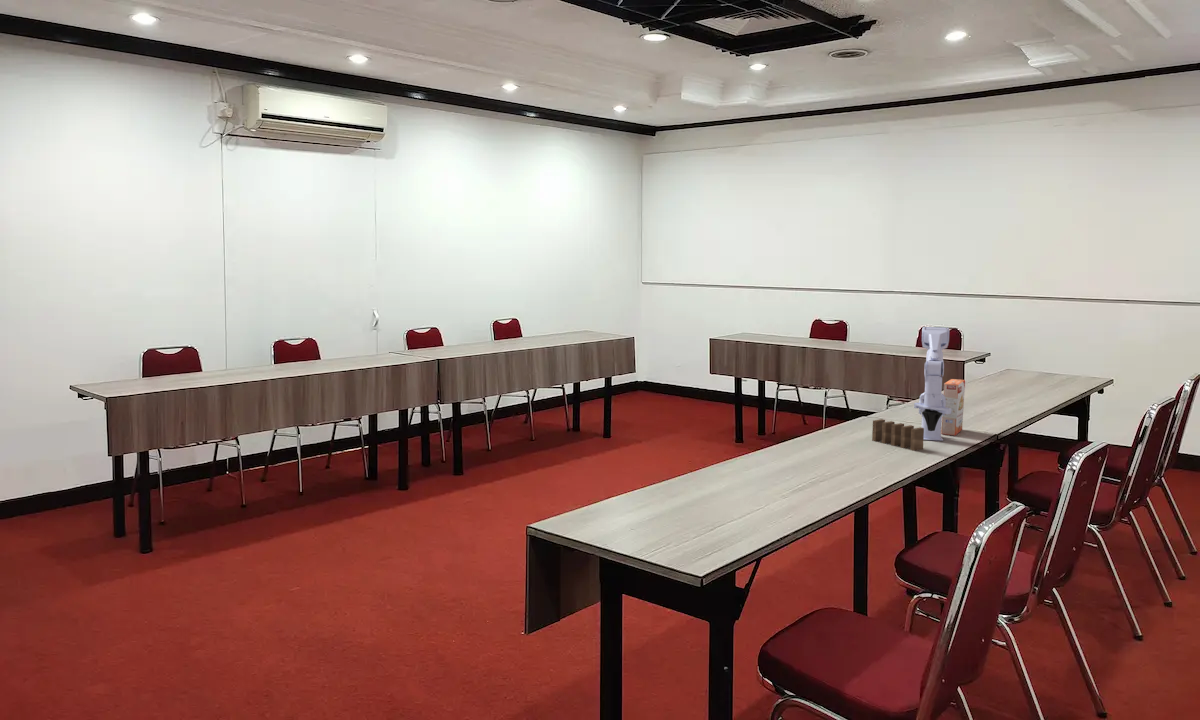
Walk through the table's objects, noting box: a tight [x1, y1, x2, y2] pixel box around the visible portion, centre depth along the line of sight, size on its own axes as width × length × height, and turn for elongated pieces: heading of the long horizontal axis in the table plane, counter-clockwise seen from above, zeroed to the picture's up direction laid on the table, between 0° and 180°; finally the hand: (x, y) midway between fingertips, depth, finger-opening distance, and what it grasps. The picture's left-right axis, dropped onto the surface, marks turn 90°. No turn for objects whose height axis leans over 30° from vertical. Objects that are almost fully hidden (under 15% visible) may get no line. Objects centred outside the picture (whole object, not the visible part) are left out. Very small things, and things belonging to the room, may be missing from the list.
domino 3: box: [890, 422, 905, 447], centre depth 323 cm, size 2×5×8 cm, turn 121°
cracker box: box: [941, 378, 966, 436], centre depth 343 cm, size 14×6×21 cm, turn 147°
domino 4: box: [900, 424, 915, 449], centre depth 319 cm, size 2×5×8 cm, turn 121°
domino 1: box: [871, 418, 886, 442], centre depth 331 cm, size 2×5×8 cm, turn 120°
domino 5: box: [910, 426, 924, 452], centre depth 315 cm, size 2×5×8 cm, turn 121°
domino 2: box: [881, 420, 896, 444], centre depth 327 cm, size 2×5×8 cm, turn 121°
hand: (931, 430), depth 309 cm, fingers closed
